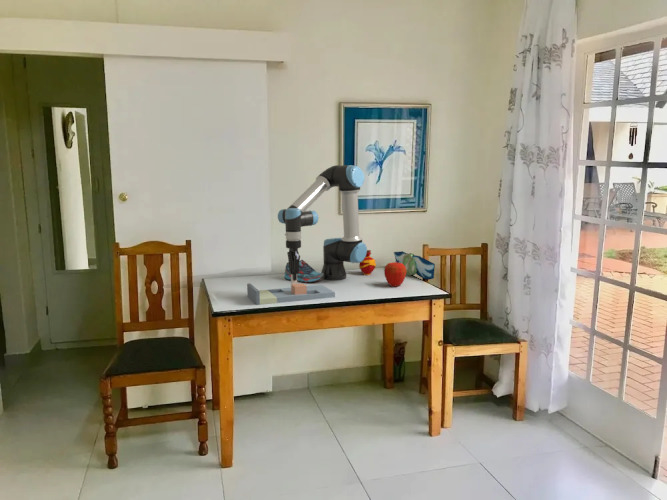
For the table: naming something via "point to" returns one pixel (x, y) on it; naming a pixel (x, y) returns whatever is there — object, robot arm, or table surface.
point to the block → (298, 289)
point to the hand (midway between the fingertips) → (294, 286)
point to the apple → (395, 273)
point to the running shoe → (304, 273)
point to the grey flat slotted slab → (287, 294)
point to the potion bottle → (367, 264)
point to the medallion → (415, 265)
